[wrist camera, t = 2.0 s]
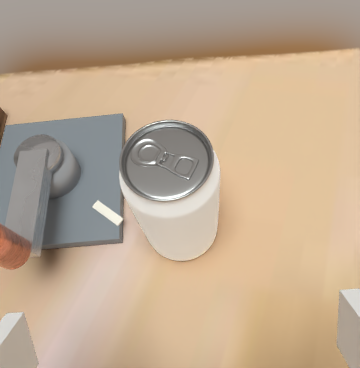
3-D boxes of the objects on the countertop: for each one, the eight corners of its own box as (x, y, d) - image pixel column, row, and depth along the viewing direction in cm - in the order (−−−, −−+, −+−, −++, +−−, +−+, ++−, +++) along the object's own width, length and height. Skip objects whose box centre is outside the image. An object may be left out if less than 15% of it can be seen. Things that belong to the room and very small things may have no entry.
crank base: (-17, 254, 30) (-47, 241, 26) (11, 132, 37) (-10, 108, 33) (126, 242, 29) (115, 227, 26) (128, 120, 36) (119, 94, 32)
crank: (23, 142, 30) (-39, 73, 23) (65, 138, 30) (17, 67, 22) (-4, 275, 25) (-98, 242, 17) (48, 271, 24) (-24, 235, 17)
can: (166, 185, 32) (143, 102, 21) (228, 210, 30) (238, 132, 19) (134, 244, 29) (91, 183, 19) (200, 274, 28) (193, 226, 17)
